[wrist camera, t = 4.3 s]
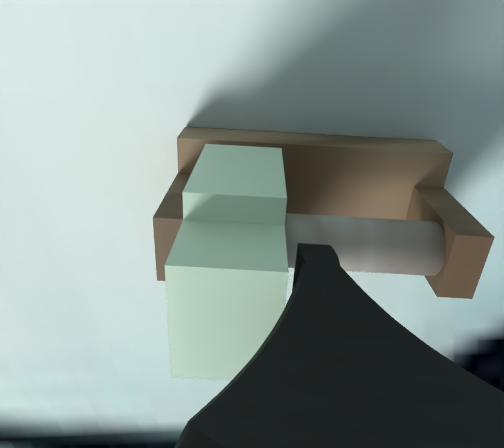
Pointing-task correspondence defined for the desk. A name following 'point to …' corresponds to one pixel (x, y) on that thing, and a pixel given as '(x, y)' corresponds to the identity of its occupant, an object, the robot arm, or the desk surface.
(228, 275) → the mint green stepped block
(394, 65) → the desk surface
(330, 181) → the rod stand
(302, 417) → the robot arm
